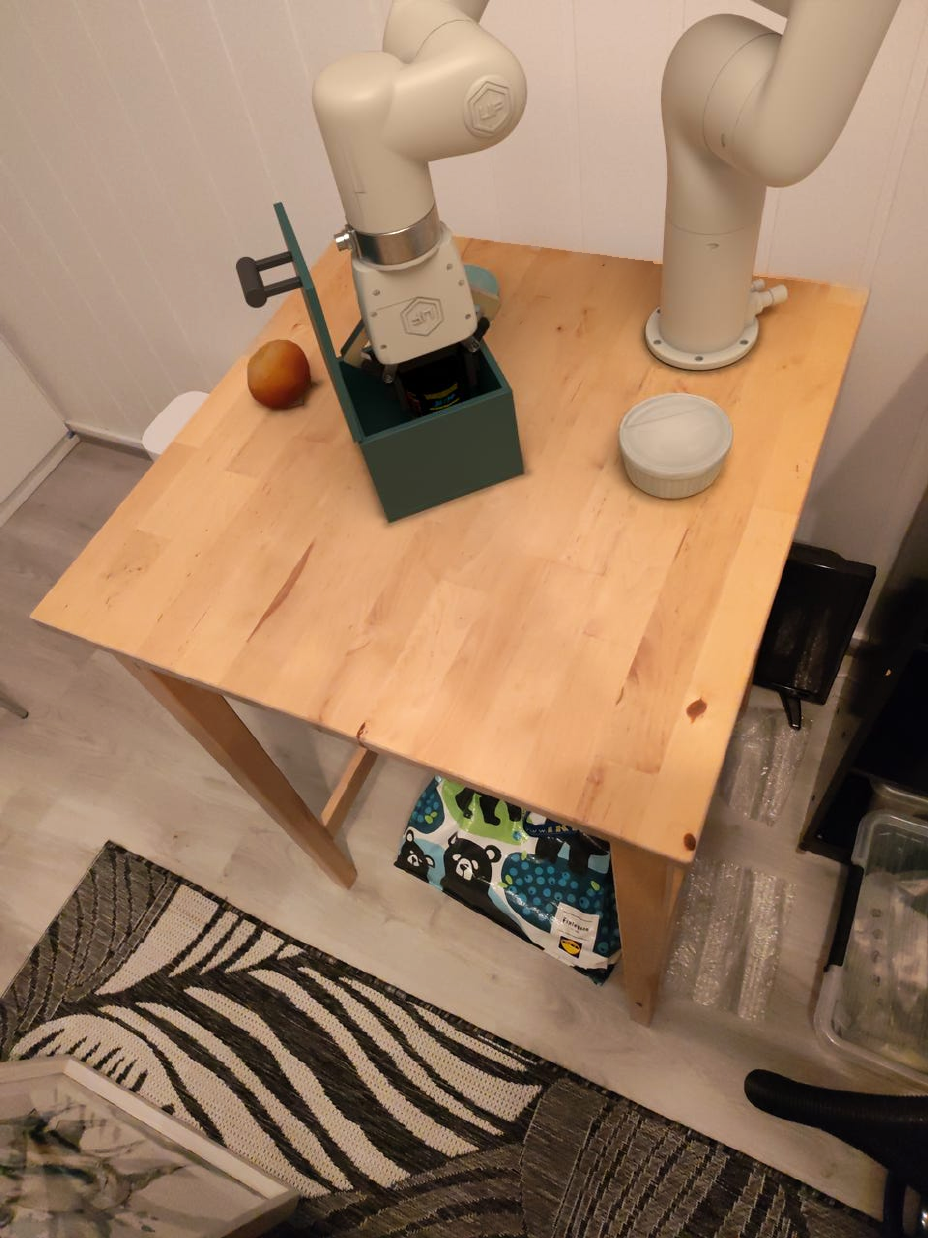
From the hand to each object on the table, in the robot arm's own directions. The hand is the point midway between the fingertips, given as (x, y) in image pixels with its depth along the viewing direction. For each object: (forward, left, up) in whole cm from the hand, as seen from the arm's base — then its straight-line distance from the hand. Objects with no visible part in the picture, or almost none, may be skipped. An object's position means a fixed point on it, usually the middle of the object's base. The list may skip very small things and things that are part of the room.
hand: (436, 388), depth 82 cm
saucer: (-8, -24, -9) cm, 27 cm away
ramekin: (-20, +13, -9) cm, 26 cm away
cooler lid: (+9, 0, +11) cm, 14 cm away
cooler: (+2, 0, -9) cm, 9 cm away
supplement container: (0, 0, -6) cm, 6 cm away
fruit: (+16, -19, -9) cm, 26 cm away
